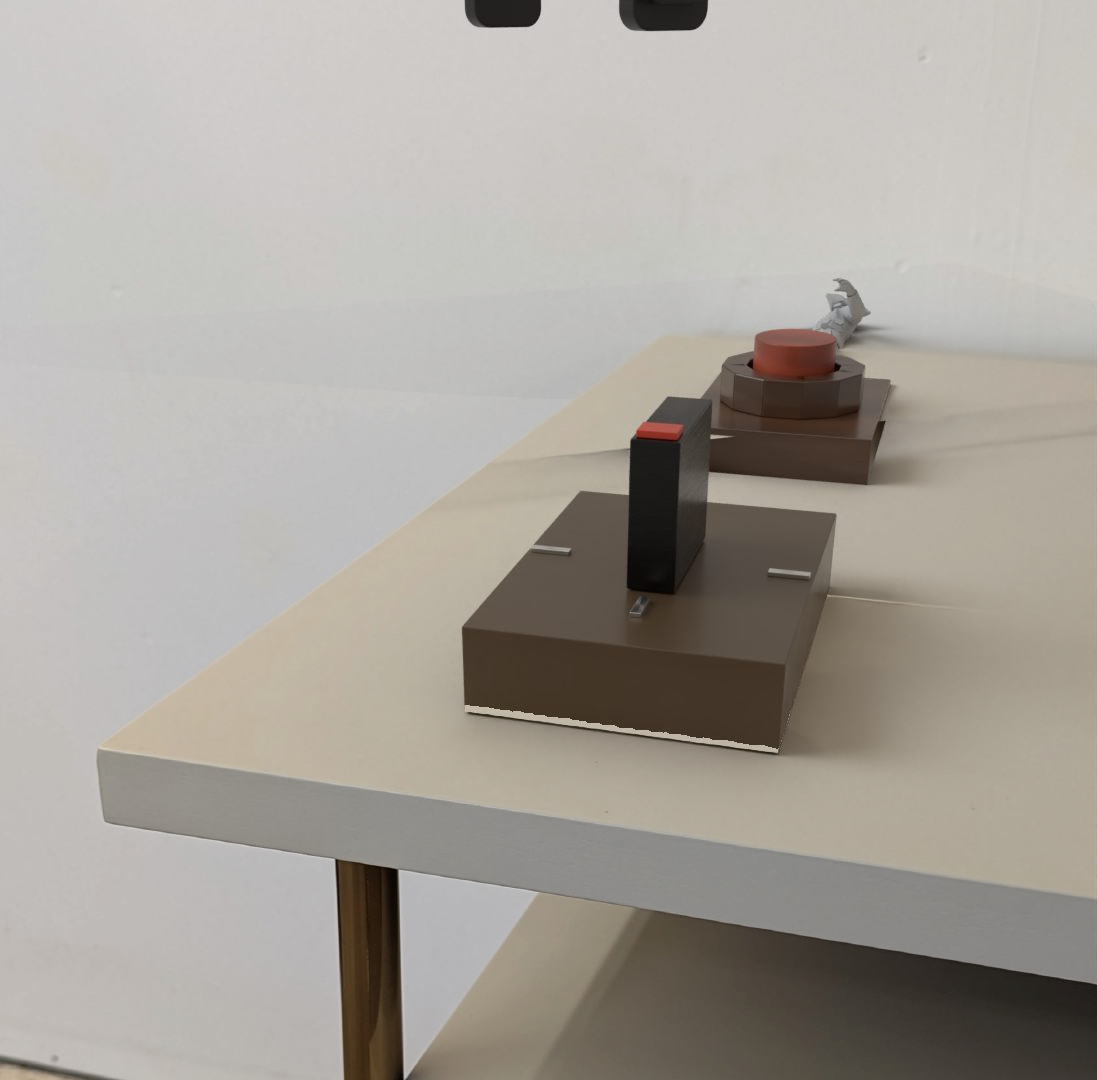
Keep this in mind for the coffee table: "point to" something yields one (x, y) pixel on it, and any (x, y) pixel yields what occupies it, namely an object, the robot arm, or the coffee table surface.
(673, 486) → the battery-shaped black case
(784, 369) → the red push button
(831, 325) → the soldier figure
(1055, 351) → the coffee table surface
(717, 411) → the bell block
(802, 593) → the plate
